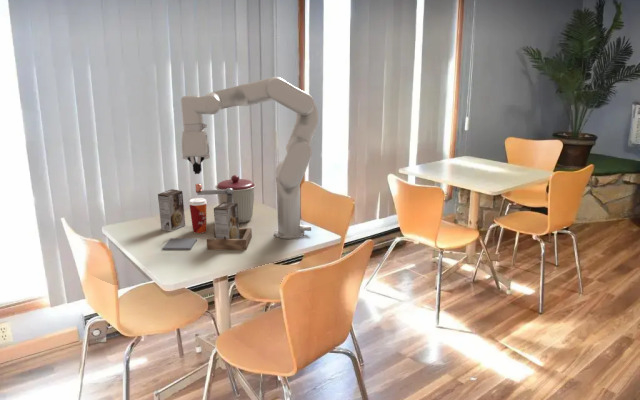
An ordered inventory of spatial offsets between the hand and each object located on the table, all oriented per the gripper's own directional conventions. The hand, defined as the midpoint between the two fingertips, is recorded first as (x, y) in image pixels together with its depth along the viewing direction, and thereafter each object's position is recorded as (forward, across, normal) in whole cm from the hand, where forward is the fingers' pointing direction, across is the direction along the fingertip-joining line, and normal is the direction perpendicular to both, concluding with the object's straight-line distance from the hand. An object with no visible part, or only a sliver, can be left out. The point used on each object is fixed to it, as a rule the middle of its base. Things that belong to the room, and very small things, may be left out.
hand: (197, 173), depth 228 cm
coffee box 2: (+28, -11, +5) cm, 31 cm away
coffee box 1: (+28, +17, -15) cm, 36 cm away
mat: (+28, +8, +7) cm, 30 cm away
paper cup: (+28, +4, -10) cm, 30 cm away
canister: (+29, -10, -26) cm, 40 cm away
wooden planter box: (+28, -12, +3) cm, 31 cm away
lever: (+10, -5, -4) cm, 12 cm away
